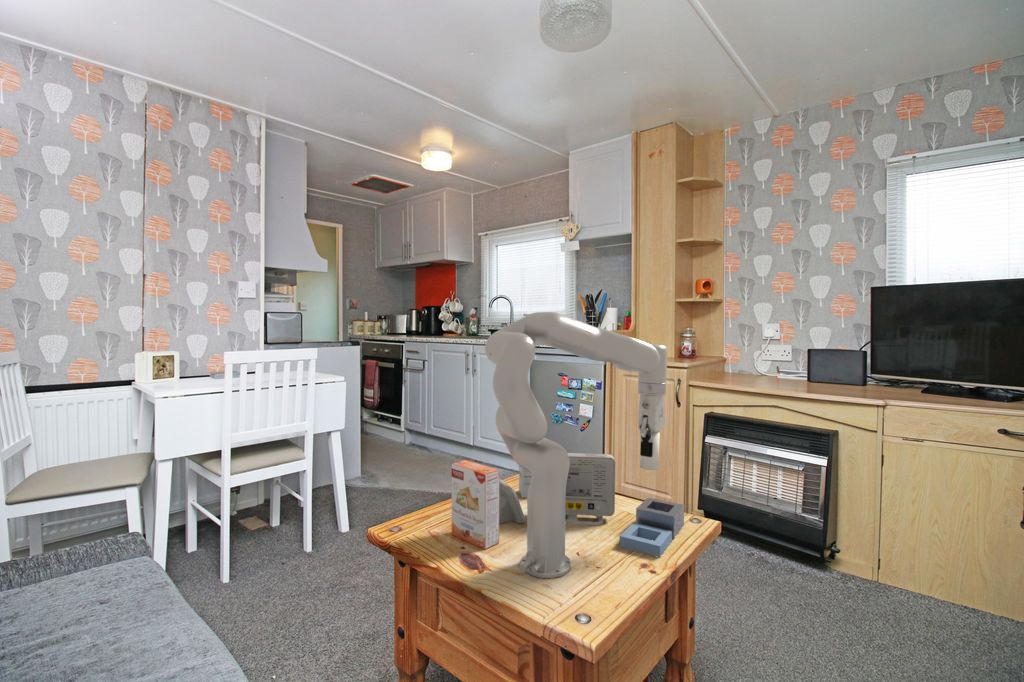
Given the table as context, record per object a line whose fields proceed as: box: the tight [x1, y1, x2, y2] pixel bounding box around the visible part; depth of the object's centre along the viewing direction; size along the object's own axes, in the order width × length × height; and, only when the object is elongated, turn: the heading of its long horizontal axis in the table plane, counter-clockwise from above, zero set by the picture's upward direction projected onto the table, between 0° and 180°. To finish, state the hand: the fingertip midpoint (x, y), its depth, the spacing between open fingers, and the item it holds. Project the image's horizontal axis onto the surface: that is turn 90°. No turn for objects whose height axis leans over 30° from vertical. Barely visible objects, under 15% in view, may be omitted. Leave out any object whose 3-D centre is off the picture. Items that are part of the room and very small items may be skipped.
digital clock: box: [499, 477, 526, 524], centre depth 155 cm, size 16×9×11 cm, turn 11°
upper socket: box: [635, 497, 685, 540], centre depth 147 cm, size 11×11×6 cm
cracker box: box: [451, 459, 500, 550], centre depth 138 cm, size 14×6×21 cm, turn 47°
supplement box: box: [518, 465, 531, 499], centre depth 175 cm, size 7×7×13 cm
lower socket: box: [619, 522, 673, 558], centre depth 136 cm, size 11×11×3 cm
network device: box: [531, 452, 616, 526], centre depth 154 cm, size 26×9×20 cm, turn 84°
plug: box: [639, 430, 661, 471], centre depth 137 cm, size 5×5×10 cm
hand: (649, 453), depth 137 cm, fingers closed on plug, 4 cm apart
